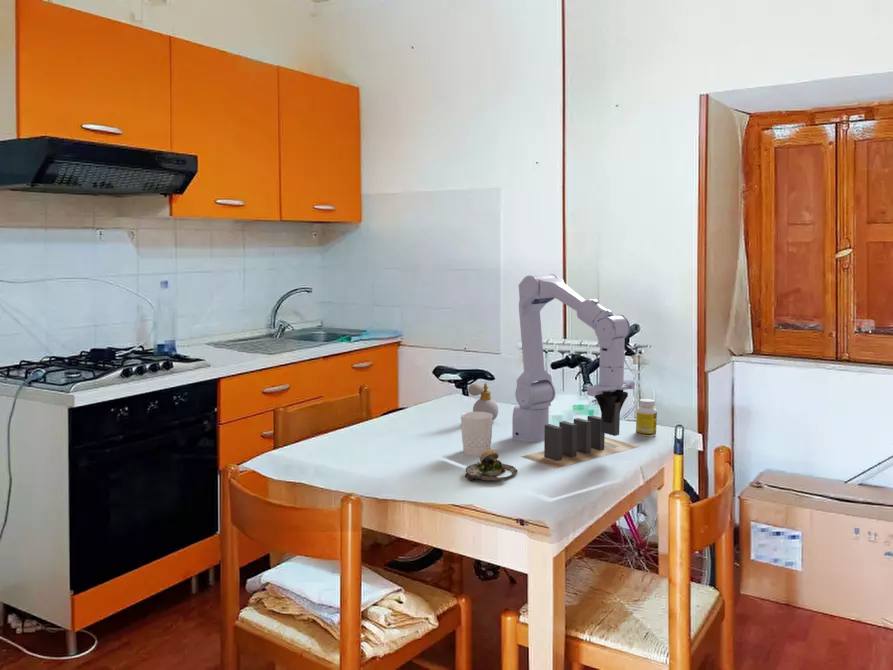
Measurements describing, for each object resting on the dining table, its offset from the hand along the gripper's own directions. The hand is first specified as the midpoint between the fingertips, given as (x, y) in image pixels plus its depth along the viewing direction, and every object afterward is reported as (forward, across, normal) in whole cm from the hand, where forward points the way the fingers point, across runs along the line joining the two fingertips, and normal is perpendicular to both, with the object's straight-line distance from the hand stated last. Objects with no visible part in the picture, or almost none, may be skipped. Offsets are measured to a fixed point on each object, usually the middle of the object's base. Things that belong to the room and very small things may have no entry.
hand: (610, 421), depth 187 cm
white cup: (+10, -22, +24) cm, 34 cm away
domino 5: (+3, 0, 0) cm, 3 cm away
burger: (+10, -30, +8) cm, 33 cm away
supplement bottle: (+10, +26, +10) cm, 29 cm away
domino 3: (+9, -1, +8) cm, 12 cm away
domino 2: (+9, -6, +8) cm, 14 cm away
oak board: (+10, -1, +8) cm, 13 cm away
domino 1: (+9, -11, +8) cm, 16 cm away
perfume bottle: (+10, 0, +48) cm, 49 cm away
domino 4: (+9, +4, +8) cm, 13 cm away
